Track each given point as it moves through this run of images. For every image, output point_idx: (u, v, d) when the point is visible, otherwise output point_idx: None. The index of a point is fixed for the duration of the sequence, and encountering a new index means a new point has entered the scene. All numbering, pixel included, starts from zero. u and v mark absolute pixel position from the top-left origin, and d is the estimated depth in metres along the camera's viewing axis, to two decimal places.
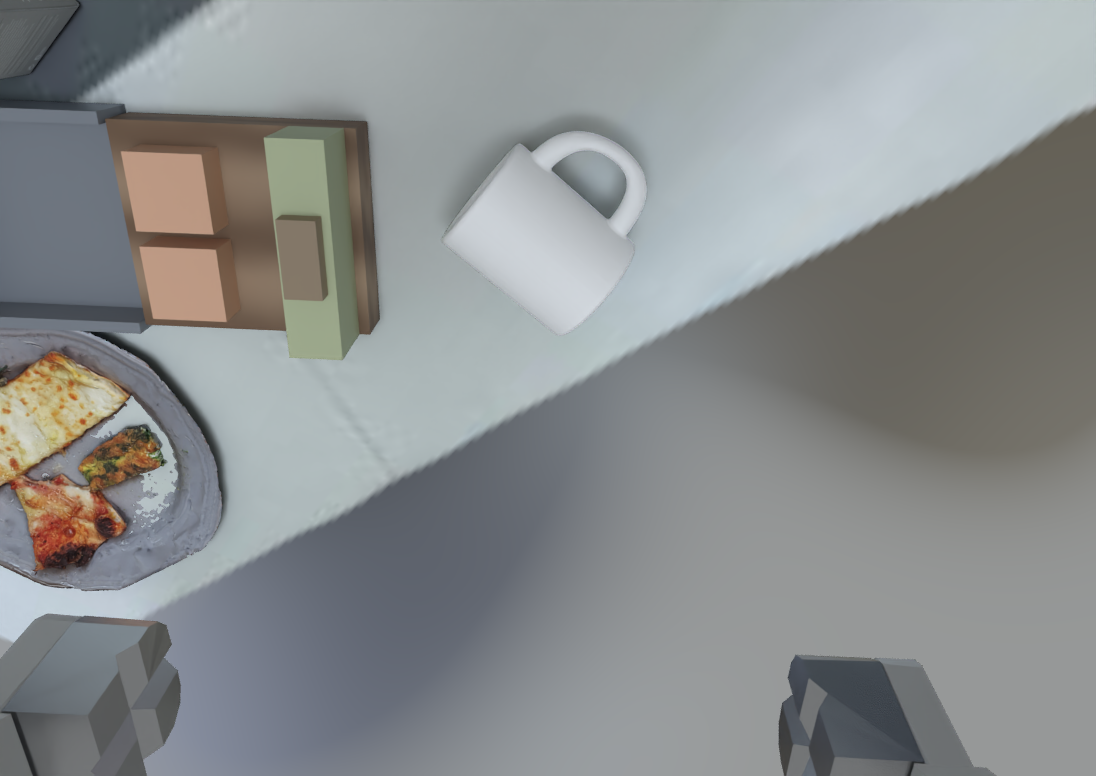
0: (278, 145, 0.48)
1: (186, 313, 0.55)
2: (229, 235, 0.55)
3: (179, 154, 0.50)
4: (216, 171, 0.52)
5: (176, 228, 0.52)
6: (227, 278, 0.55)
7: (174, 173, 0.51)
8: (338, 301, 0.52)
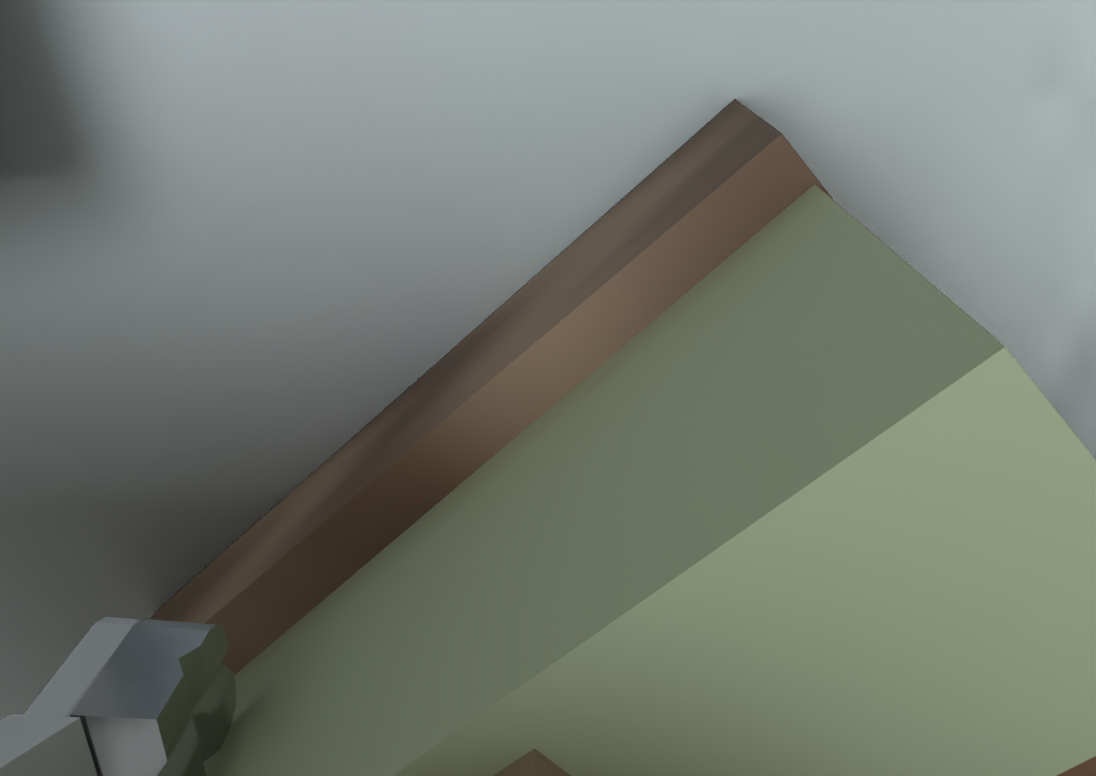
0: None
1: None
2: None
3: None
4: None
5: None
6: None
7: None
8: (533, 658, 0.06)
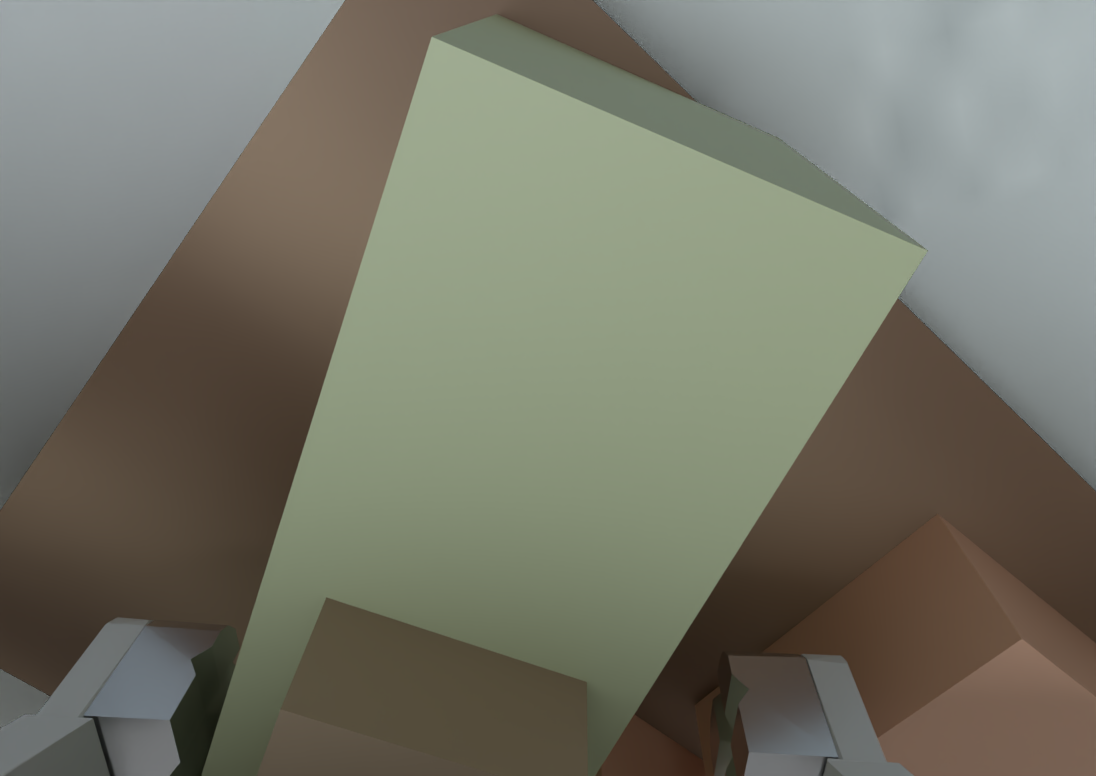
0: None
1: None
2: None
3: None
4: None
5: None
6: None
7: None
8: (286, 515, 0.07)
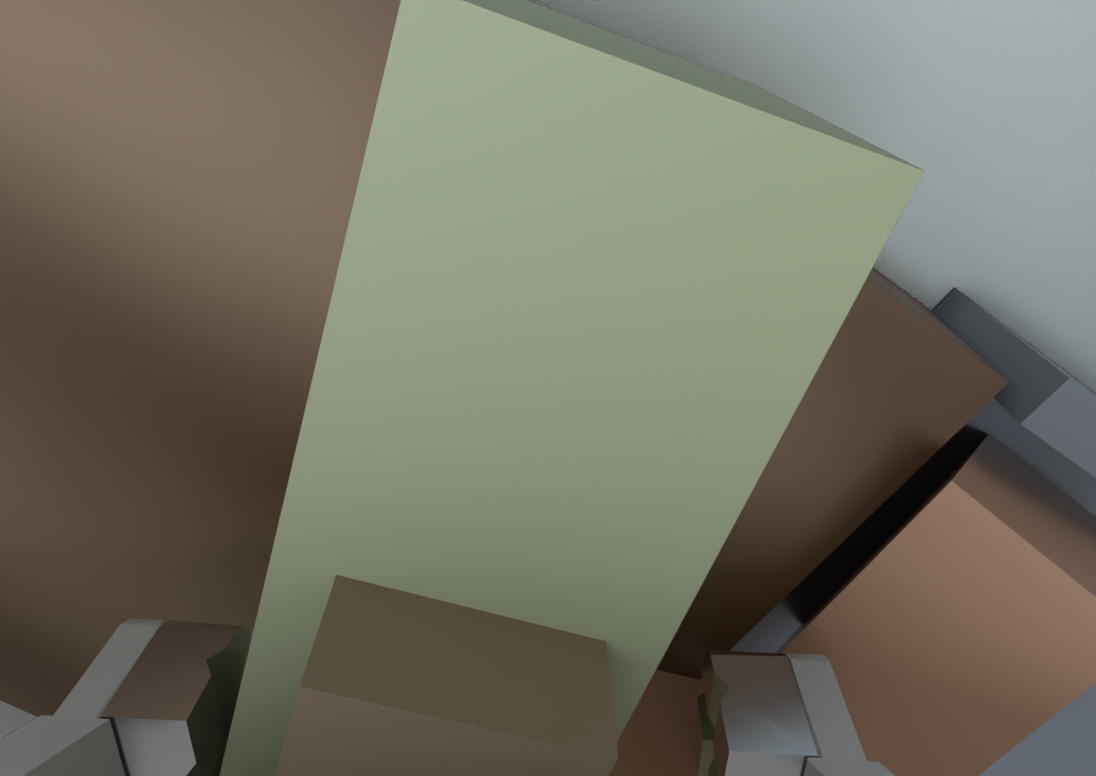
0: None
1: None
2: None
3: None
4: None
5: None
6: (894, 710, 0.10)
7: None
8: (288, 493, 0.07)
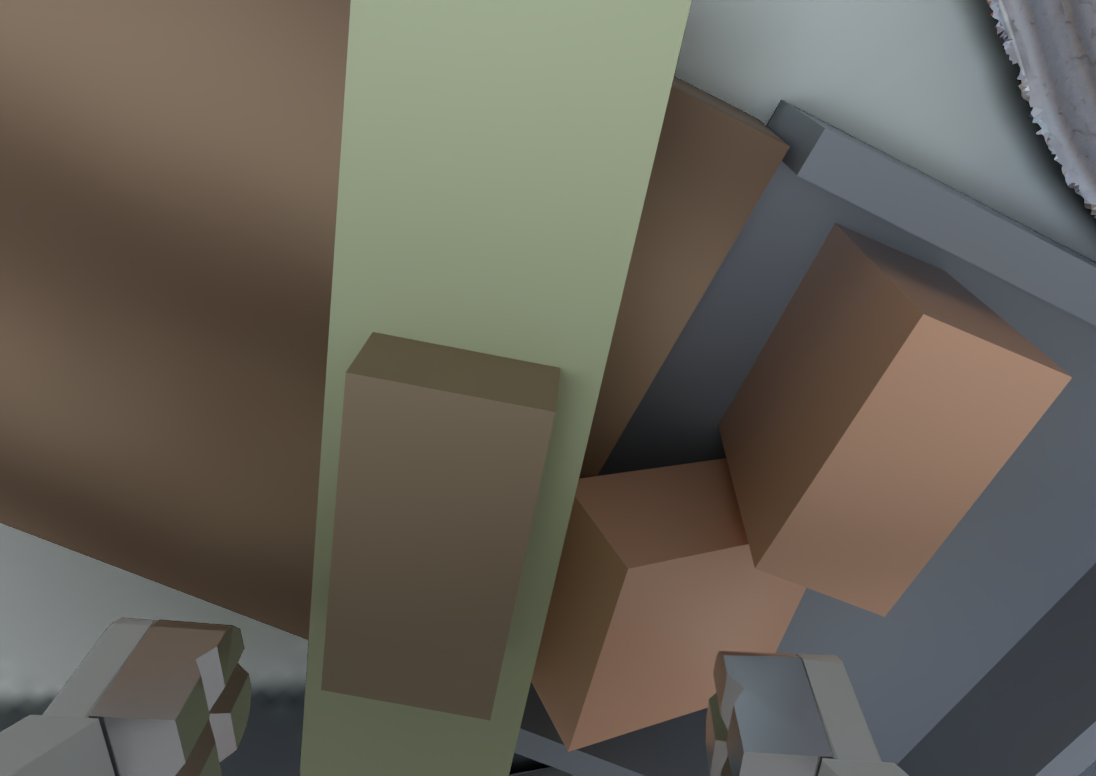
0: None
1: None
2: (270, 317, 0.15)
3: (625, 731, 0.17)
4: (542, 634, 0.17)
5: (728, 558, 0.15)
6: (903, 492, 0.13)
7: (658, 689, 0.17)
8: (337, 278, 0.10)
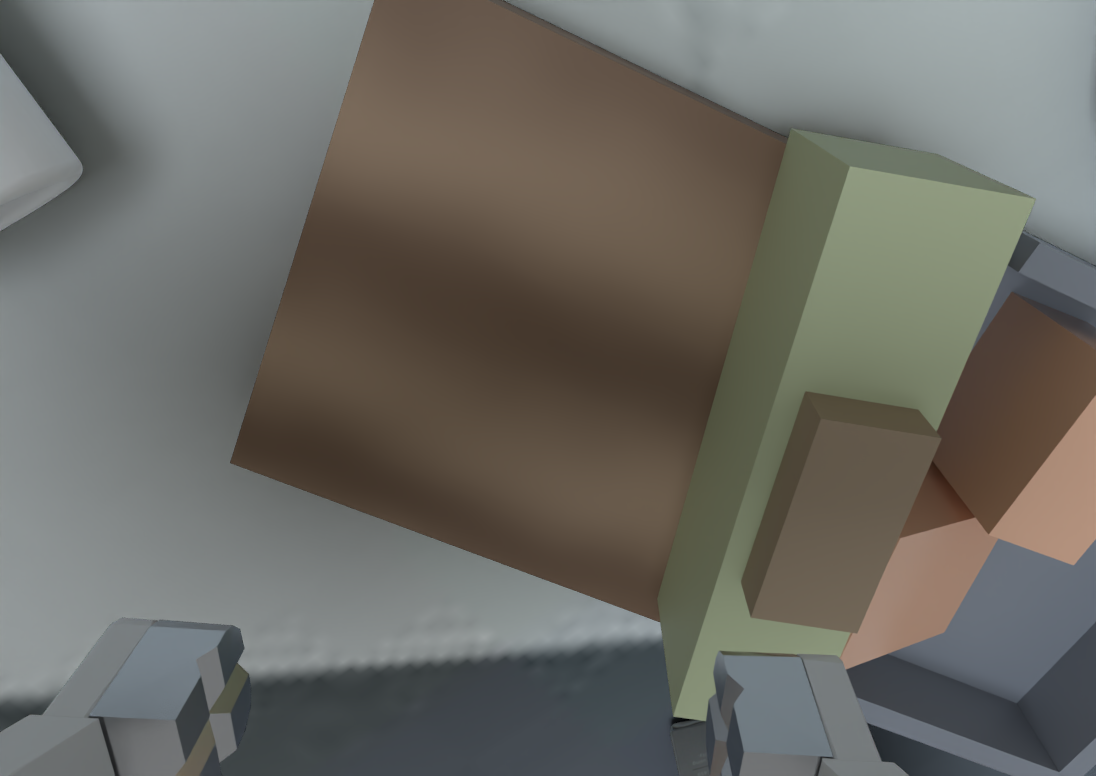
0: None
1: None
2: (630, 371, 0.22)
3: (865, 660, 0.24)
4: None
5: (953, 530, 0.22)
6: (1094, 480, 0.20)
7: (892, 628, 0.23)
8: (784, 359, 0.17)
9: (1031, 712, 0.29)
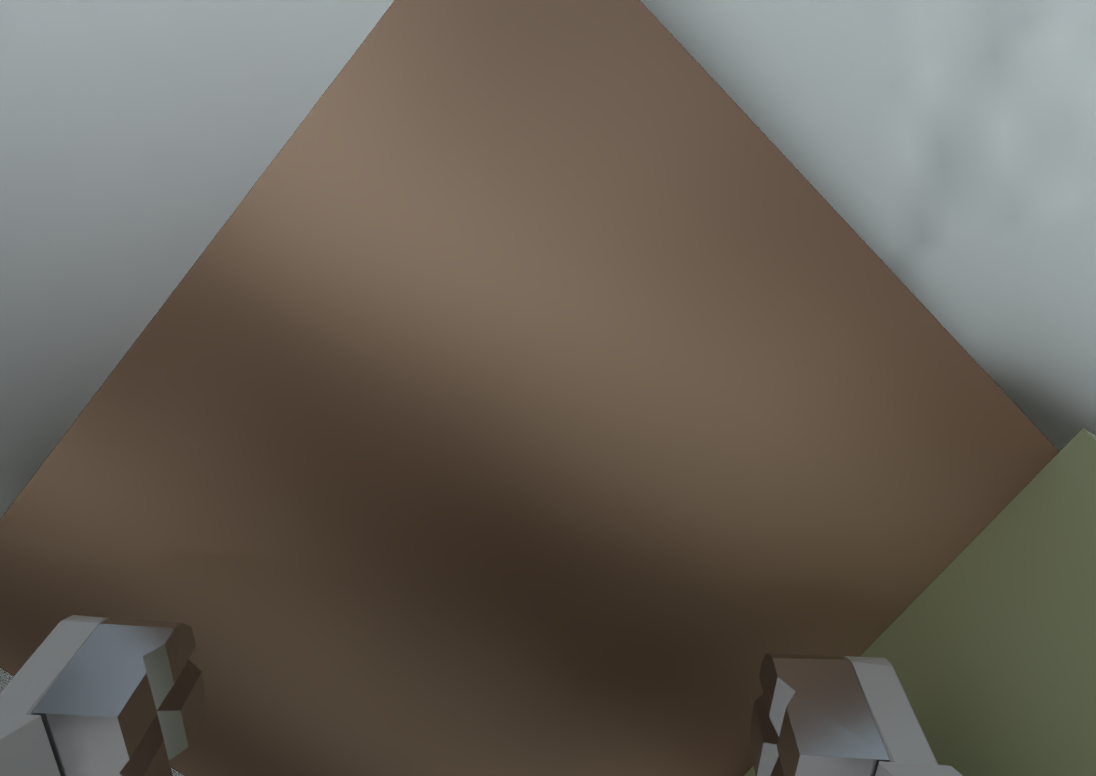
0: None
1: None
2: (651, 684, 0.13)
3: None
4: None
5: None
6: None
7: None
8: None
9: None
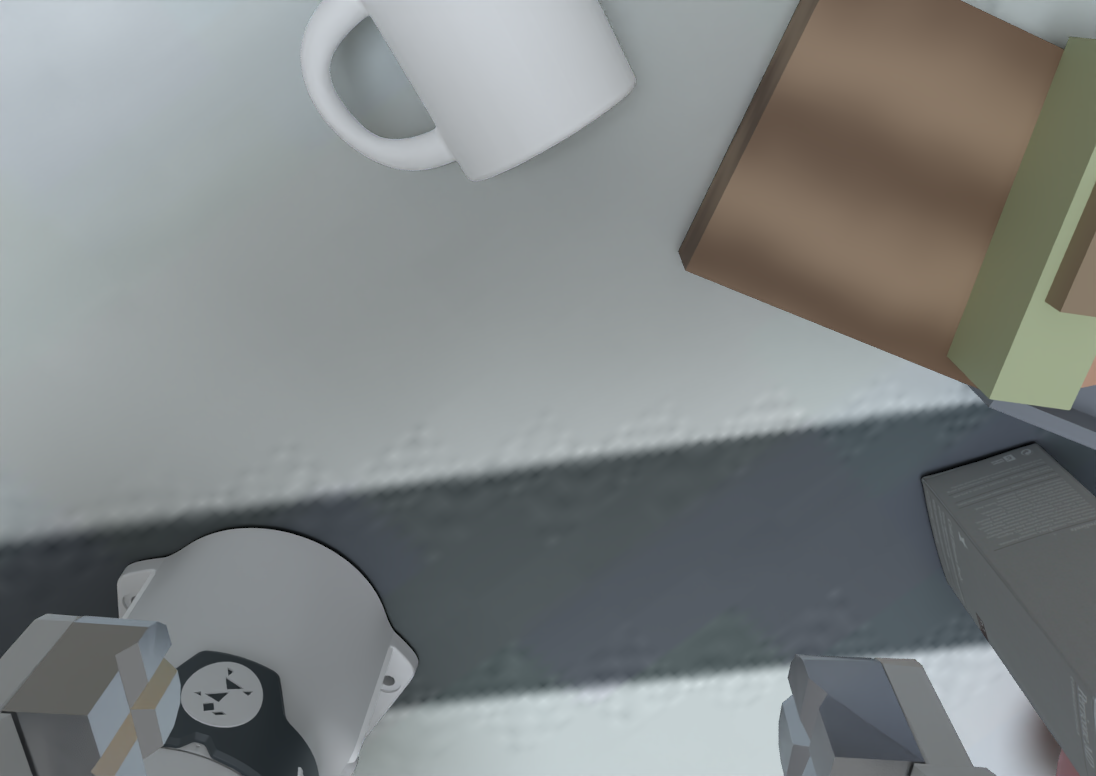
0: (1054, 399, 0.34)
1: None
2: (949, 197, 0.35)
3: (1089, 384, 0.37)
4: None
5: None
6: None
7: None
8: (1086, 158, 0.30)
9: None
